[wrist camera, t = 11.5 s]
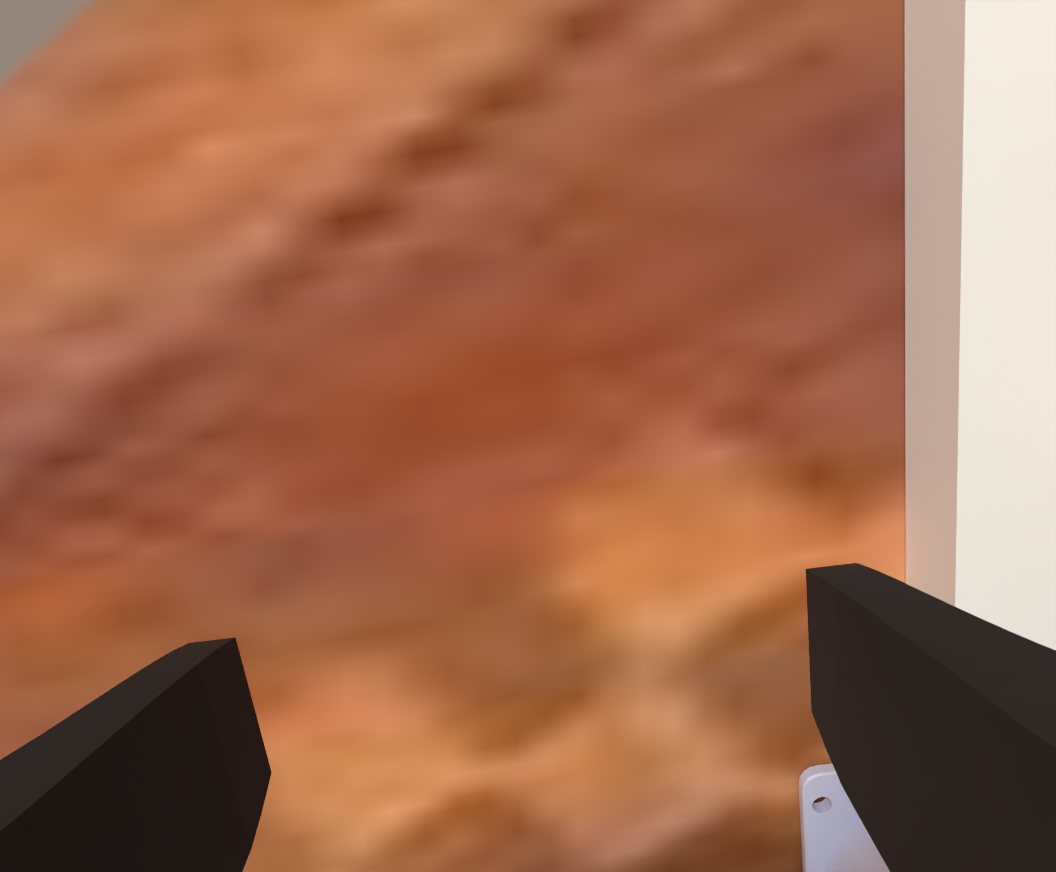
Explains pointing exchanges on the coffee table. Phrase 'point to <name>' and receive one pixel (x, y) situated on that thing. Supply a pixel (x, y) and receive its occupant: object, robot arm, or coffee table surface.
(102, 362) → the coffee table surface
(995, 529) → the dock
